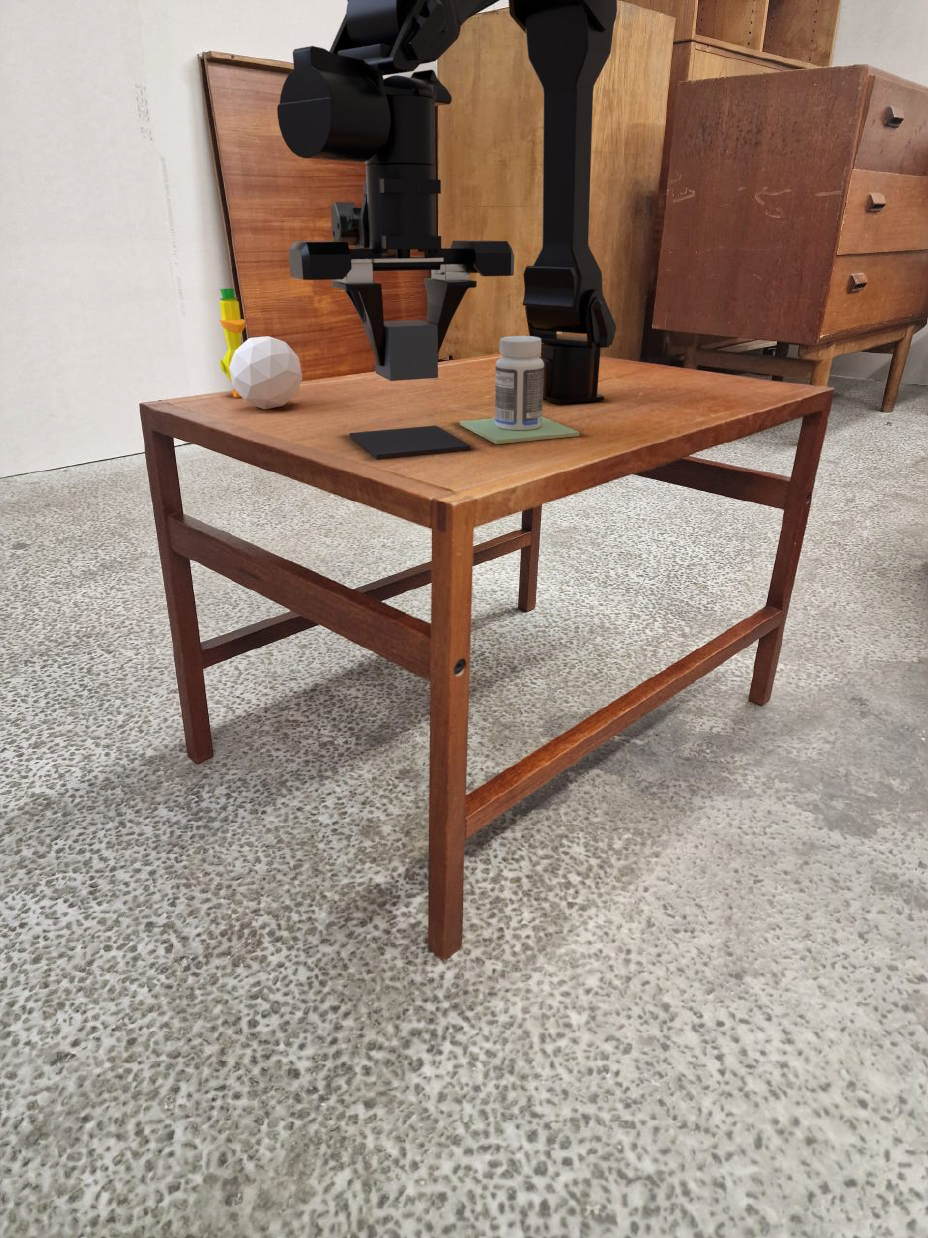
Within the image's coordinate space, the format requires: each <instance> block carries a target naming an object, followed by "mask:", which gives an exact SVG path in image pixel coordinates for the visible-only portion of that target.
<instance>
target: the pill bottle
mask: <svg viewBox="0 0 928 1238" xmlns="http://www.w3.org/2000/svg"><path fill="white" fill-rule="evenodd" d="M541 344H542V343H541V338H539V337H533V336H529V335H512V336H511V335H510V336H504V337H501V338H500V339H499V350H498V351H499V354H500V355H501V357H499V358H498V359H497V361H495V377H494V379H495V381H494V383H495V388H494V389H495V393H494V396H495V397H494V398H495V399H494V404H495V405H494V407H495V408H494V418H495V424H496V426H497V427H499V428H501V429H506V430H533V429H537V428H539V427H540V426H541V425H542V417H543V410H544V409H543V407H544V404H543V403H544V399H543V382H544V362H543V360H542V359H540V358H539V357H540V356H539V355H541Z"/></svg>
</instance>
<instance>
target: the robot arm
mask: <svg viewBox="0 0 928 1238" xmlns="http://www.w3.org/2000/svg"><path fill="white" fill-rule="evenodd" d="M346 1H347V4H346V10H345V11H346V12H345V15H344V17H343V19H342V22H341V24H340V26H339V28H338V31H337V32H336V35H335V37H334V40H333V42H332V44H331V46H330V48H329V50H327V49H326V48H323V47H319V46H315V45H310V46H304V47H299V48H294V49H293V51H292V59H293V60H292V62H293V64H292V65H293V69H292V70H291V71H290V73H289V74H288V75H287V77H286V78H285V80H284V83H283V85H282V88H281V92H280V97H279V103H278V105H277V107H276V112H277V121H278V127H279V131H280V133H281V136H282V139H283V141H284V143H285V144H286V146H287V148H288V149H289V150H290V151H291V152H292V153H293V154H294V155H296V156H297V157H299V158H302V159H306V160H307V159H309V160H319V161H320V160H321V161H331V162H332V161H334V162H344V163H357V164H358V163H359V164H361V163H365V178H366V180H365V181H362V182H363V188H362V202H361V207H356V203H354V202H351V201H347V202H346V201H334V202H333V203H332V204H331V207H330V218H331V222H330V223H331V233H332V240H295V241H293V243H292V244H291V245H290V247H289V249H288V267H289V277H290V278H295V279H298V280H302V281H303V280H304V281H330V283H331V286H332V288H335V289H338V290H342V291H344V292H345V294H346V295H347V297H348V299H349V300H350V301H351V304H352V305H353V307H354V309H355V311H356V313H357V314H358V318H359V320H360V322H361V325H362V327H363V330H364V333H365V335H366V338H367V342H368V343H369V346H370V350H371V351H372V355H373V357H374V361H375V360H376V363H377V365H379V366H384V361H385V332H384V321H385V318H384V301H383V289H382V287H383V286H382V283H379V282H374V280H375V279H374V272H397V271H400V272H401V271H402V272H404V271H406V272H407V271H408V272H409V271H431V277H430V278H429V277H428V278H427V277H425V278H424V279H423V283H424V287H425V291H426V292H425V293H426V296H427V306H426V307H427V308H426V309H427V310H426V322H429V323H432V324H436V325H437V326H438V354H439V353H440V352H441V348H442V345H443V343H444V340H445V337H446V335H447V332H448V330H449V329H450V325H451V323H452V320H453V318H454V315H455V314H456V312H457V311H458V308H459V306H460V305H461V303H462V301H463V299H464V297H465V294H466V293H467V291H468V290H469V289H476V288H477V285H478V281H477V280H472V279H471V274H479V275H480V276H481V277H513V276H515V254H514V252H513V248H512V246H511V244H510V243H509V242H508V240H491V239H490V240H489V239H488V240H484V239H483V240H482V239H481V240H480V239H479V240H476V239H475V240H474V239H472V240H471V239H470V240H468V239H467V240H466V239H465V240H464V239H463V240H461V239H459V240H457V239H456V240H455V239H454V240H452V241H451V245H450V247H446V248H445V247H442V235H437V195H440V194H442V179H437V177H436V175H437V174H436V173H437V172H436V109H435V108H436V107H438V106H439V107H440V106H448V105H450V104H451V103H452V101H453V97H452V95H451V93H450V92H449V90H448V88H447V87H446V86H445V85H444V84H443V83H442V82H441V81H440V80H439V78H438V77H437V74H436V72H435V70H434V69H425V70H417V71H415V70H416V69H417V68H418V67H419V66H420V65H423V64H430V63H433V62H436V61H438V60H440V58H441V57H442V56H443V55H444V54H445V53H446V51H448V50H449V48H451V46H452V45H453V44H454V43H455V42H456V41H457V40H458V39H459V37H460V35H461V27H462V25H463V24H464V23H465V22H466V21H467V20H468V19H470V18H472V17H473V16H475V15H477V14H479V13H480V12H482V11H484V10H485V9H487V8H489V7H491V6H493V5H494V4H496V3H498V2H500V1H501V0H346ZM508 10H509V13H508V14H509V16H510V17H511V18H512V20H514V22H515V23H516V24H517V26H519V27H520V29H521V30H522V31H523V32H524V34H525V37H526V38H525V39H526V48H527V49H526V51H527V58H528V61H529V62H530V65H531V67H532V69H533V71H534V73H535V76H536V77H537V79H538V81H539V83H540V85H541V87H542V92H543V113H542V114H543V115H542V116H543V118H542V119H543V121H542V122H543V123H542V124H543V125H542V126H543V127H542V130H543V131H542V132H543V133H542V134H543V135H542V137H543V138H542V139H543V140H542V141H543V142H542V244H541V249H540V251H539V253H538V255H537V257H536V258H535V260H534V262H533V264H532V265H526V266H525V268H524V271H523V283H524V285H523V286H524V293H523V301H522V306H523V307H524V311H525V318H526V324H527V329H528V336H533V337H539V338H541V351H540V352H541V354H540V356H539V358H540V359H542V360H543V362H544V382H543V400H546V401H548V402H551V403H554V404H571V403H581V402H582V403H584V402H595V401H605V395H604V394H600V393H598V390H599V378H600V377H599V376H600V364H601V363H600V362H601V349H608V348H610V346H612V345H613V343H614V340H615V335H616V331H617V326H616V325H617V324H616V323H615V320H614V318H613V315H612V313H611V310H610V308H609V306H608V303H607V301H606V299H605V296H604V292H603V273H602V272H603V271H602V270H601V267H600V266H599V264H598V262H597V260H596V258H595V256H594V254H593V252H592V250H591V247H589V246H590V245H589V233H590V232H589V229H590V203H591V202H590V198H591V169H592V168H591V167H592V138H593V112H594V111H593V109H594V106H593V105H594V104H593V103H594V90H595V89H594V87H595V84H596V83H597V81H598V79H599V77H600V75H601V73H602V71H603V69H604V67H605V65H606V63H607V61H608V59H609V57H610V55H611V52H612V45H613V38H614V37H613V35H614V29H615V23H616V19H617V14H618V0H508ZM403 73H405V74H406V73H412V74H411V76H410V77H409V76H404V75H398V74H403ZM384 76H388V77H385V78H384ZM351 246H353V248H350V247H351ZM411 250H417V253H423V256H411ZM558 332H559V333H558ZM564 333H565V334H564ZM566 333H568V334H566ZM576 334H580V335H576Z"/></svg>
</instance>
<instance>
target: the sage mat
mask: <svg viewBox="0 0 928 1238" xmlns="http://www.w3.org/2000/svg"><path fill="white" fill-rule="evenodd" d="M459 425H460V426H462V427H463V428H465V429H467V430H468V431H471V432H472V433H475V434H476V435H478V436H480V437H482V438H484V439H485V440H487V441H489V442H491V443H492V444H494V445H502V444H512V443H525V442H533V441H544V440H553V439H563V438H571V437H572V438H573V437H580V431H578V430H576V429H573V428H571V427H568V426H566V425H564V424H562V423H559V422H556V421H554V420H552V419H549V418H547V417H544V416H542V425H541V426H540V427H539V428H537V429H533V430H506V429H501V428H499V427H497V426H496V424H495V417H492V418H490V417H489V418H481V419H480V418H479V419H468V420H460V421H459Z"/></svg>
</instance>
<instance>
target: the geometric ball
mask: <svg viewBox="0 0 928 1238" xmlns="http://www.w3.org/2000/svg"><path fill="white" fill-rule="evenodd" d="M229 370H230V375H231V380H232V382H231V384H232V388H233V390H234V389H235V390H236V391H237V393H238V394H239V395H240V396H241V397H240V398H242V400H244V401H245V403H246V404H248V405H251V406H253V407H256V408H258V409H262V410H270V409H276V408H280V407H284V406H285V405H286V404H287V403H289V402H290V401H291V400H292V399H293V398H295V397H296V396H297V395H298V393H299V390H300V388H301V387H300V386H301V384H302V382H303V372H302V367H301V361H300V357H299V356H298V355H297V354H296V353H295V351H294V350H293V349H292V348H291V346H289V344H288V343H287V342H286V341H283V340H281V339H278V338H275V337H272V336H269V335H266V336H265V335H264V336H256V337H249V338H248V339H246V340H245V341H244V342H243V343H241V346H240V347H239V348H238V349H237V350H236V351H235V353H234V355H233V358H232V361H231V363H230V366H229Z"/></svg>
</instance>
